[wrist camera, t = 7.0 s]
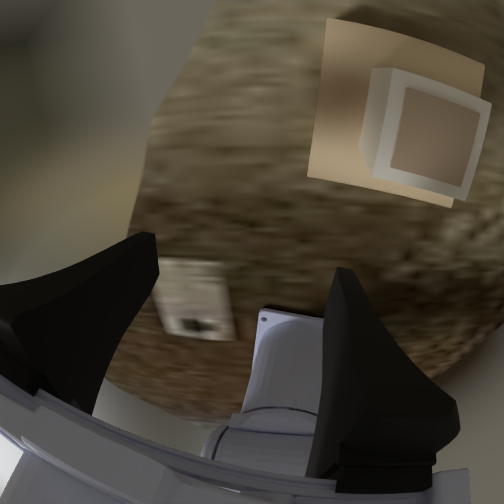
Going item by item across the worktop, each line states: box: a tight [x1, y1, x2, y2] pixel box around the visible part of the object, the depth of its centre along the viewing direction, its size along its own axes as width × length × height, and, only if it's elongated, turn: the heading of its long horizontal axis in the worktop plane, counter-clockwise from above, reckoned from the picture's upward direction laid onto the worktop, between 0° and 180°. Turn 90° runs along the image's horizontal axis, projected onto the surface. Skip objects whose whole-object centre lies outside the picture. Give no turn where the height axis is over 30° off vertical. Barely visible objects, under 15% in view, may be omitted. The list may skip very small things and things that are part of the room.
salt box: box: [359, 68, 492, 201], centre depth 12 cm, size 4×4×5 cm
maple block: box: [307, 18, 485, 208], centre depth 15 cm, size 9×9×3 cm
